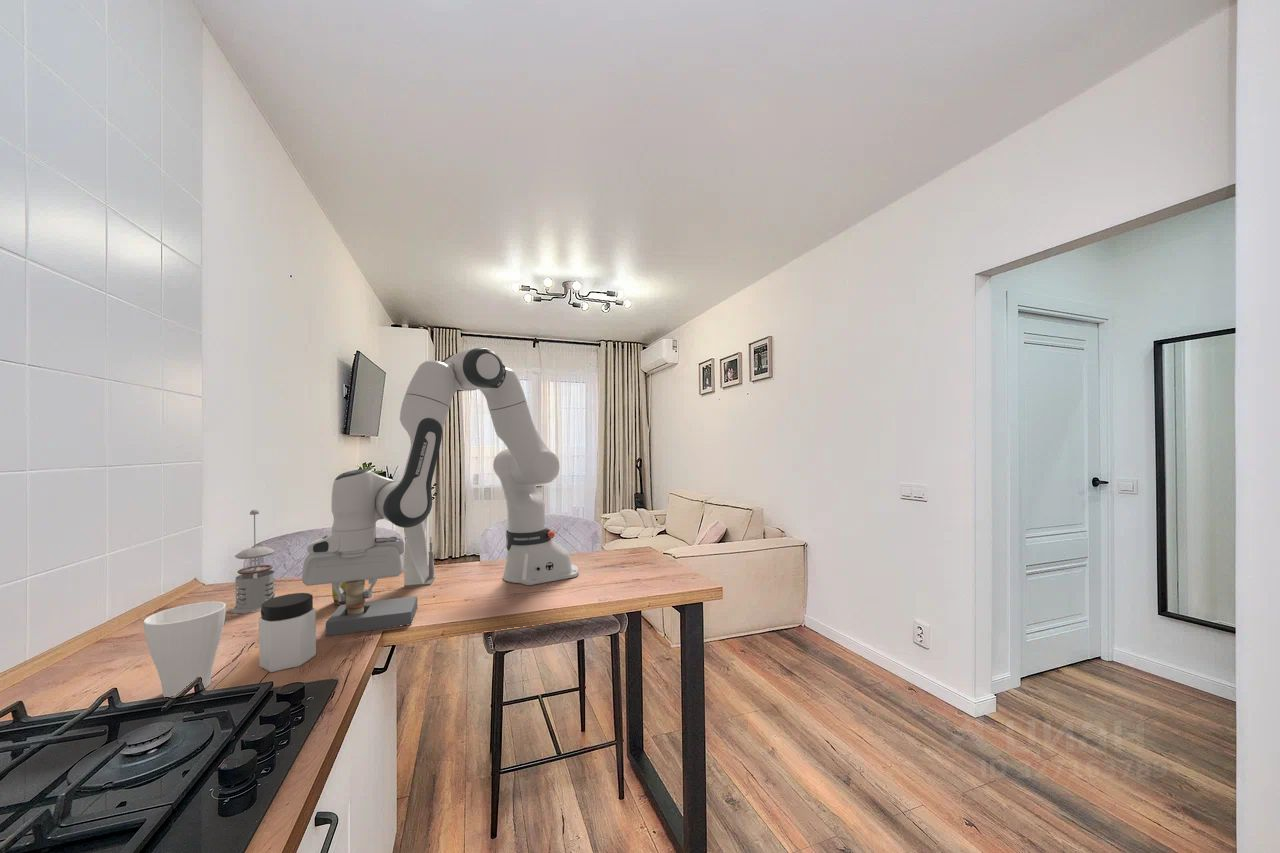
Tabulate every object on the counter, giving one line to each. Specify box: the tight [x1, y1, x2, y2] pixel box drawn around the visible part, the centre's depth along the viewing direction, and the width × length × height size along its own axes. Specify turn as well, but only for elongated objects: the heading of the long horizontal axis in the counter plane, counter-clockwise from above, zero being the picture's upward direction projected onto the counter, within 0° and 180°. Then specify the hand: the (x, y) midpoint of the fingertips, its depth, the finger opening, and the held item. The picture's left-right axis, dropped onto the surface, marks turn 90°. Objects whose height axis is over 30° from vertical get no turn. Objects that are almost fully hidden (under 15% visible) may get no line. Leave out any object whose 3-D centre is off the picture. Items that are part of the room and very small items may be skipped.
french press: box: [230, 509, 276, 614], centre depth 124 cm, size 10×12×25 cm
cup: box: [142, 601, 227, 698], centre depth 83 cm, size 10×10×14 cm
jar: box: [258, 592, 317, 673], centre depth 93 cm, size 9×8×12 cm
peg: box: [346, 580, 366, 615], centre depth 111 cm, size 4×4×9 cm
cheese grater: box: [402, 517, 436, 588], centre depth 140 cm, size 8×8×28 cm
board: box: [325, 595, 418, 637], centre depth 112 cm, size 17×11×3 cm, turn 108°
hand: (355, 599), depth 111 cm, fingers closed on peg, 4 cm apart
